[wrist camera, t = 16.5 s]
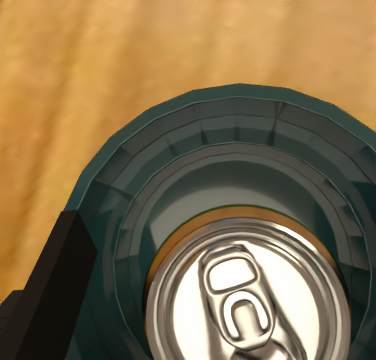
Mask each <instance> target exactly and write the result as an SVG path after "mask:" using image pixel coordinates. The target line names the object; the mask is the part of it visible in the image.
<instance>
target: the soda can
mask: <svg viewBox="0 0 376 360" xmlns="http://www.w3.org/2000/svg"><path fill="white" fill-rule="evenodd" d="M141 306H142V322H143V326H144V331H145V336H146V340H147V342H148V345H149V348H150V350H151V353H152V355H153V358H154V360H346V359H347V356H348V351H349V345H350V334H351V328H352V309H351V302H350V296H349V291H348V288H347V284H346V281H345V278H344V275H343V273H342V271H341V269H340V267H339V265H338V263H337V261H336V259H335V258H334V256H333V255H332V253H331V252H330V250H329V249H328V248H327V246H326V245H325V244H324V243H323V242H322V241H321V240H320V238H319V237H318V236H317V235H316V234H315V233H314V232H313V231H311V230H310V229H309V228H307V227H306V226H305V225H304V224H302V223H301V222H300V221H298V220H296V219H294V218H292V217H291V216H289V215H287V214H285V213H282V212H280V211H277V210H275V209H272V208H268V207H264V206H259V205H253V204H231V205H222V206H219V207H215V208H211V209H208V210H205V211H203V212H201V213H198V214H196V215H194V216H193V217H191V218H189V219H188V220H186V221H185V222H183V223H182V224H180V225H179V226H178V227H177V228H176V229H175V230H174V231H173V232H171V233H170V234H169V236H168V237H167V238H166V239H165V241H164V242H163V243H162V244H161V245H160V247H159V249H158V250H157V252H156V254H155V255H154V257H153V259H152V261H151V264H150V266H149V269H148V271H147V274H146V278H145V282H144V286H143V293H142V305H141Z"/></svg>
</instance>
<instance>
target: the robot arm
mask: <svg viewBox="0 0 376 360" xmlns="http://www.w3.org/2000/svg"><path fill="white" fill-rule="evenodd" d="M97 253H98V251H97V249H96V247H95V245H94V242H93V240H92V238H91V236H90V234H89V232H88V230H87V228H86V226H85V224H84V221H83V219H82V217H81V215H80V213H79V211H78V210H70V211H61V213H60V215H59V217H58V219H57V221H56V223H55V225H54V227H53V230H52V232H51V234H50V236H49V238H48V240H47V242H46V244H45V246H44V248H43V250H42V252H41V254H40V257H39V259H38V261H37V263H36V265H35V267H34V269H33V271H32V273H31V275H30V277H29V279H28V281H27V284H26V286H25V288H24V290H14V291H12V292H11V294H10V295H9V296H8V297H7V298H6V299H5V300H4V301H3V302H2V304H1V305H0V360H65V359H66V355H67V352H68V349H69V345H70V342H71V339H72V336H73V332H74V329H75V326H76V322H77V319H78V316H79V313H80V309H81V306H82V303H83V299H84V296H85V293H86V290H87V286H88V283H89V280H90V276H91V273H92V270H93V267H94V263H95V260H96V257H97Z"/></svg>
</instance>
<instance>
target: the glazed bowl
mask: <svg viewBox="0 0 376 360" xmlns="http://www.w3.org/2000/svg"><path fill="white" fill-rule="evenodd" d="M231 204H253V205H259V206H264V207H268V208H272V209H275V210H277V211H280V212H282V213H285V214H287V215H289V216H291V217H292V218H294V219H296V220H298V221H300V222H301V223H302V224H304V225H305V226H306V227H307V228H309V229H310V230H311V231H313V232H314V233H315V234H316V235H317V236H318V237H319V238H320V240H321V241H322V242H323V243H324V244H325V245H326V246H327V248H328V249H329V250H330V252H331V253H332V255H333V256H334V258H335V259H336V261H337V263H338V265H339V267H340V269H341V271H342V273H343V275H344V278H345V281H346V284H347V288H348V291H349V296H350V302H351V309H352V328H351V334H350V345H349V351H348V356H347V359H346V360H376V132H375V131H374V130H372V129H371V128H369V127H368V126H366V125H365V124H363V123H362V122H360V121H359V120H357V119H356V118H354V117H353V116H351V115H350V114H348V113H347V112H345V111H344V110H342V109H341V108H339V107H338V106H335V105H334V104H331V103H328V102H325V101H322V100H320V99H317V98H314V97H311V96H308V95H306V94H303V93H300V92H297V91H294V90H292V89H289V88H288V89H287V88H282V87H272V86H262V85H251V84H241V83H239V84H231V85H224V86H217V87H211V88H204V89H198V90H192V92H191V91H189V92H187V93H185V94H182V95H180V96H177V97H175V98H173V99H170V100H168V101H165V102H163V103H161V104H158V105H156V106H153V107H151V108H149V109H147V110H146V111H144V112H143V113H142V114H140V115H139V116H138V117H136V118H135V119H134V120H132V121H131V122H130V123H128V124H127V125H126V126H124V127H123V128H122V129H120V130H119V131H118V132H116V133H115V134H114V135H112V137H110V138H109V139H108V140H107V142H106V143H105V144H104V145H103V146H102V148H101V149H100V150H99V151H98V153H97V154H96V155H95V156H94V157H93V159H92V160H91V161H90V162H89V164H88V165H87V166H86V167H85V168H84V170H83V171H82V173H81V174H80V177H79V179H78V181H77V183H76V185H75V187H74V189H73V191H72V193H71V196H70V198H69V200H68V202H67V204H66V206H65V208H64V210H63V211H70V210H78V211H79V213H80V215H81V217H82V219H83V221H84V224H85V226H86V228H87V230H88V232H89V234H90V236H91V238H92V240H93V242H94V245H95V247H96V249H97V251H98V253H97V257H96V260H95V263H94V267H93V270H92V273H91V276H90V280H89V283H88V286H87V290H86V293H85V296H84V299H83V303H82V306H81V309H80V313H79V316H78V319H77V322H76V326H75V329H74V332H73V336H72V339H71V342H70V345H69V349H68V352H67V355H66V360H154V358H153V355H152V353H151V350H150V348H149V345H148V342H147V340H146V336H145V331H144V326H143V322H142V306H141V305H142V293H143V286H144V282H145V278H146V274H147V271H148V269H149V266H150V264H151V261H152V259H153V257H154V255H155V254H156V252H157V250H158V249H159V247H160V245H161V244H162V243H163V242H164V241H165V239H166V238H167V237H168V236H169V234H170V233H171V232H173V231H174V230H175V229H176V228H177V227H178V226H179V225H180V224H182V223H183V222H185V221H186V220H188V219H189V218H191V217H193V216H194V215H196V214H198V213H201V212H203V211H205V210H208V209H211V208H215V207H219V206H222V205H231Z"/></svg>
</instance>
